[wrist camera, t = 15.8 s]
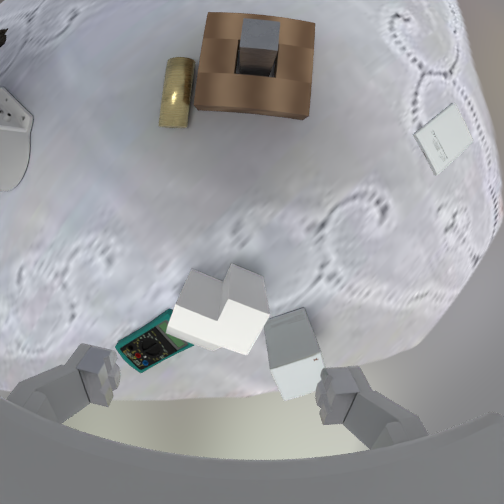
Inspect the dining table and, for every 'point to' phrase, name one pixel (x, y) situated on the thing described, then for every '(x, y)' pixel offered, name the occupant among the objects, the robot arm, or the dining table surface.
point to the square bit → (258, 46)
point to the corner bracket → (221, 310)
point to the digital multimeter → (151, 344)
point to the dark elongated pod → (2, 36)
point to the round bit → (176, 93)
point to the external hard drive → (443, 138)
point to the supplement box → (293, 354)
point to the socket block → (250, 86)
